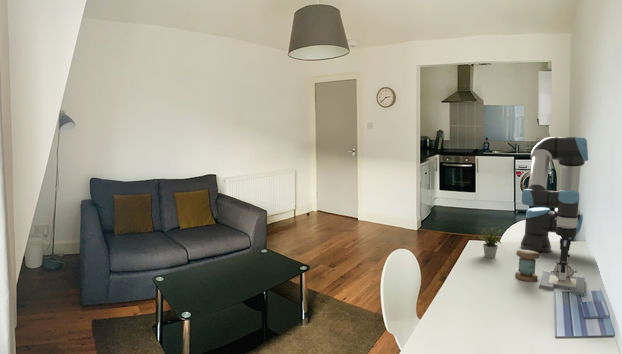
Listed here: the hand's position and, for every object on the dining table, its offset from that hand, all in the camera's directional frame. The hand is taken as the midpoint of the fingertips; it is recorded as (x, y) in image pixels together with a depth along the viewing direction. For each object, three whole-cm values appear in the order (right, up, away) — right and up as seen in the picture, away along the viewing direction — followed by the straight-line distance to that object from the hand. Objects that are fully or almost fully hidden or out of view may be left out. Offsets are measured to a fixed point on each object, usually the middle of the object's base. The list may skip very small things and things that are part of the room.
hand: (562, 275), depth 179 cm
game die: (0, -3, +1) cm, 3 cm away
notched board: (0, -4, +1) cm, 4 cm away
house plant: (-16, 0, +40) cm, 43 cm away
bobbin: (-12, -3, +8) cm, 15 cm away
